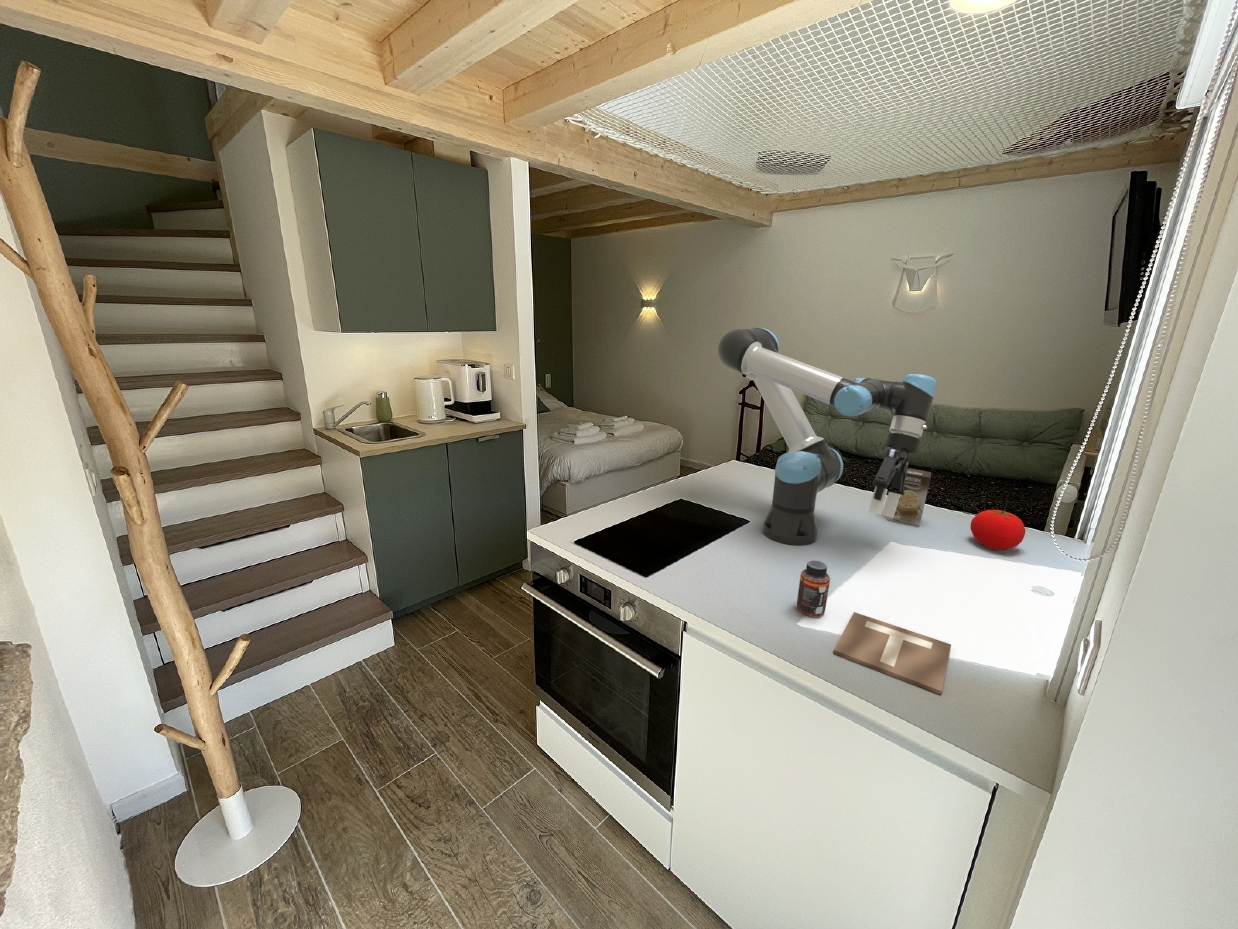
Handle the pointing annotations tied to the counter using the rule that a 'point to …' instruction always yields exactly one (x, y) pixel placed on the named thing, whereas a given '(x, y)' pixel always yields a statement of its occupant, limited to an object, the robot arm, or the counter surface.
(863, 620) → the letter board
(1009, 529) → the tomato
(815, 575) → the supplement bottle
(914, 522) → the coffee box
